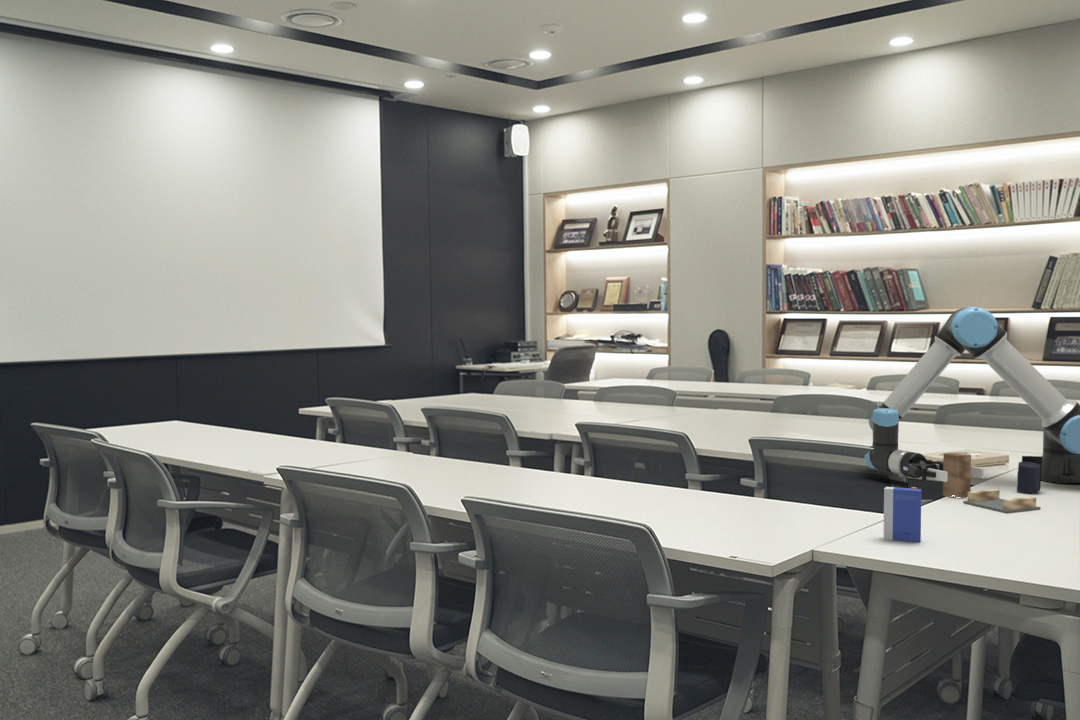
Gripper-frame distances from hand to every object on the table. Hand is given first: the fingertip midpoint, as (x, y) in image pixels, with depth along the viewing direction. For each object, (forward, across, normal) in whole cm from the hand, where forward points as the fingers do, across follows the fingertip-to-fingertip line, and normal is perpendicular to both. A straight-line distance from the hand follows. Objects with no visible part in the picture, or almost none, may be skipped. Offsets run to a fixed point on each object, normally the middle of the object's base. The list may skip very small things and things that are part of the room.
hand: (965, 475), depth 257 cm
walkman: (+30, +51, -7) cm, 60 cm away
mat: (+12, 0, -6) cm, 14 cm away
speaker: (+1, -24, -7) cm, 25 cm away
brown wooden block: (-3, 0, -6) cm, 7 cm away
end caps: (+12, 0, -6) cm, 14 cm away
